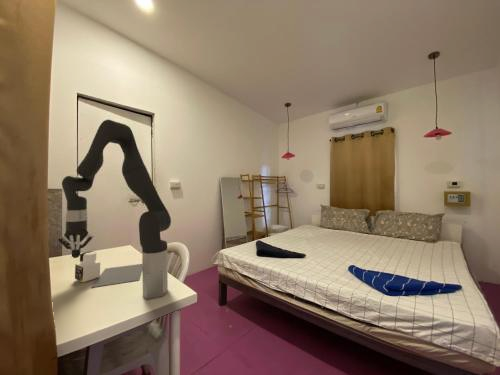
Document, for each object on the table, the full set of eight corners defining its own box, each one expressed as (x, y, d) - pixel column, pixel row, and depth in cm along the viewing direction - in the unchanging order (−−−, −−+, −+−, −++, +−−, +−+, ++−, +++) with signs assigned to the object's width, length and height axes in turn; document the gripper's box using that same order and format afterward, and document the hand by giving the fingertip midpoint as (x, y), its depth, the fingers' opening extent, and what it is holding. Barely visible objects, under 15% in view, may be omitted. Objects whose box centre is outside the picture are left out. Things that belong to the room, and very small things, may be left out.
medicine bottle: (74, 279, 95) (75, 253, 96) (92, 273, 102) (93, 249, 102) (82, 282, 92) (83, 255, 92) (100, 277, 98) (101, 251, 99)
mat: (139, 280, 95) (139, 279, 95) (91, 287, 88) (91, 287, 88) (143, 264, 116) (143, 263, 116) (105, 269, 109) (105, 268, 109)
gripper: (54, 221, 89) (53, 261, 89) (91, 220, 94) (91, 258, 94) (62, 219, 96) (61, 256, 96) (96, 217, 101) (96, 253, 101)
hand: (76, 257), depth 95 cm, fingers closed
